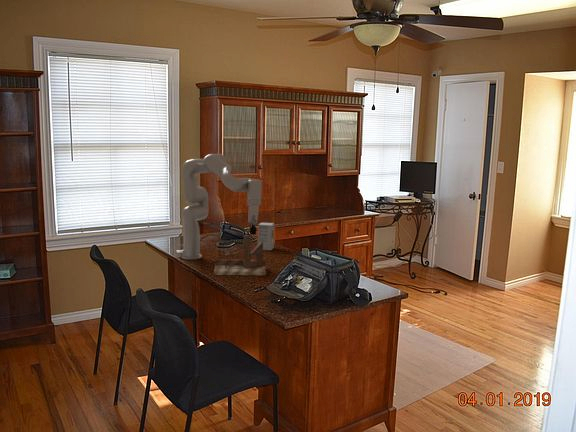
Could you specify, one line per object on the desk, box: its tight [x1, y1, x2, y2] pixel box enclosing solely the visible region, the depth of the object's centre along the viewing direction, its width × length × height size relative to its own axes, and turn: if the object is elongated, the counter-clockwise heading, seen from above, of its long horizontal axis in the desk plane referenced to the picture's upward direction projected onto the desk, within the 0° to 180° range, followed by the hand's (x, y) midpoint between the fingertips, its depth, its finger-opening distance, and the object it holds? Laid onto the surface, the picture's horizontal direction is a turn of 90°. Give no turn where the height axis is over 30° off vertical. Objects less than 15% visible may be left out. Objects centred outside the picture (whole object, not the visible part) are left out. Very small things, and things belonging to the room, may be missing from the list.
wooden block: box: [242, 234, 264, 268], centre depth 281 cm, size 4×11×18 cm, turn 107°
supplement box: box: [257, 222, 275, 251], centre depth 334 cm, size 10×9×17 cm
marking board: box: [213, 258, 267, 276], centre depth 280 cm, size 28×14×5 cm, turn 94°
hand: (252, 232), depth 280 cm, fingers open, 9 cm apart
